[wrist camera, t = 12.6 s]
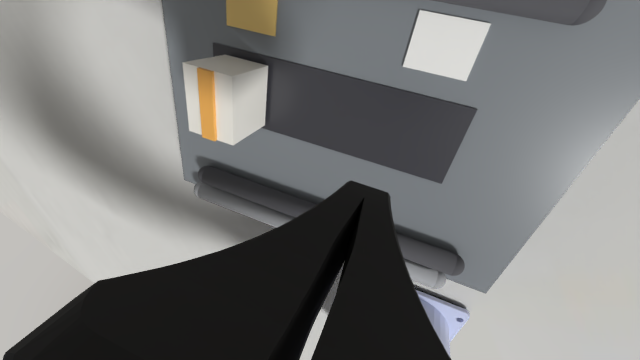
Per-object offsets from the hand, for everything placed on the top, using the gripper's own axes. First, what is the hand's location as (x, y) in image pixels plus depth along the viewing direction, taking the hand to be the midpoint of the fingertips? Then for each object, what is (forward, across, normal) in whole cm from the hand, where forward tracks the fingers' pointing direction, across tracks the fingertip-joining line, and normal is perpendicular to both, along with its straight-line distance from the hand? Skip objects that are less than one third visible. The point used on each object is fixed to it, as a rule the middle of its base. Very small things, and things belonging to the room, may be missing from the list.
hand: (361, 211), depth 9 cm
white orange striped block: (+7, +9, 0) cm, 12 cm away
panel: (+10, +3, 0) cm, 10 cm away
